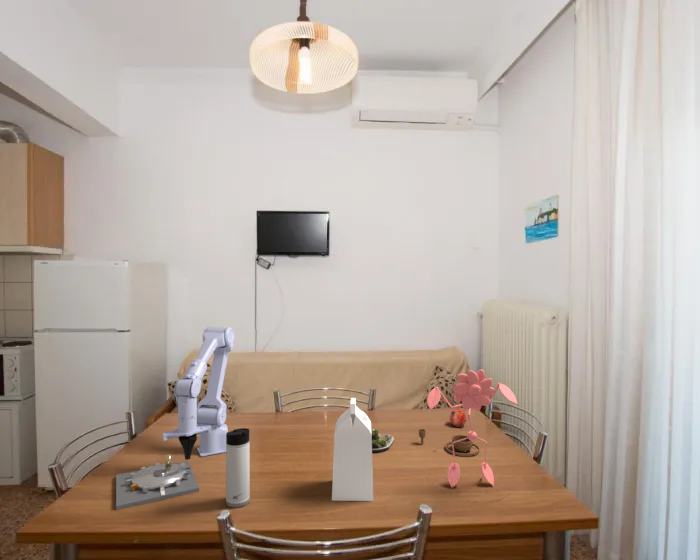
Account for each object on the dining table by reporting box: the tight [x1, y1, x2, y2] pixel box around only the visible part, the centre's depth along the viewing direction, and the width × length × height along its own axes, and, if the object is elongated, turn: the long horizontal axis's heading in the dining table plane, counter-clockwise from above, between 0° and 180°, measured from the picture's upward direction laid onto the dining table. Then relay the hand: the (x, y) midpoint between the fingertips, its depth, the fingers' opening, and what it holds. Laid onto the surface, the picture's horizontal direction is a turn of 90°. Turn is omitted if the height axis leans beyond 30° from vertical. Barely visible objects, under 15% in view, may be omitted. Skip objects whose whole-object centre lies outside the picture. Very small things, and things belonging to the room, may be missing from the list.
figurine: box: [426, 369, 518, 503], centre depth 125 cm, size 15×26×35 cm, turn 92°
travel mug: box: [225, 427, 251, 509], centre depth 118 cm, size 6×7×20 cm
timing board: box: [115, 460, 200, 511], centre depth 129 cm, size 21×21×1 cm
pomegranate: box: [448, 408, 468, 428], centre depth 180 cm, size 7×7×10 cm
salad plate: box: [371, 428, 395, 454], centre depth 162 cm, size 19×18×5 cm
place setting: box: [418, 428, 481, 457], centre depth 157 cm, size 18×20×6 cm
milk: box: [331, 397, 374, 502], centre depth 125 cm, size 12×12×26 cm
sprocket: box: [127, 453, 192, 492], centre depth 130 cm, size 18×18×4 cm
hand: (187, 458), depth 139 cm, fingers closed
